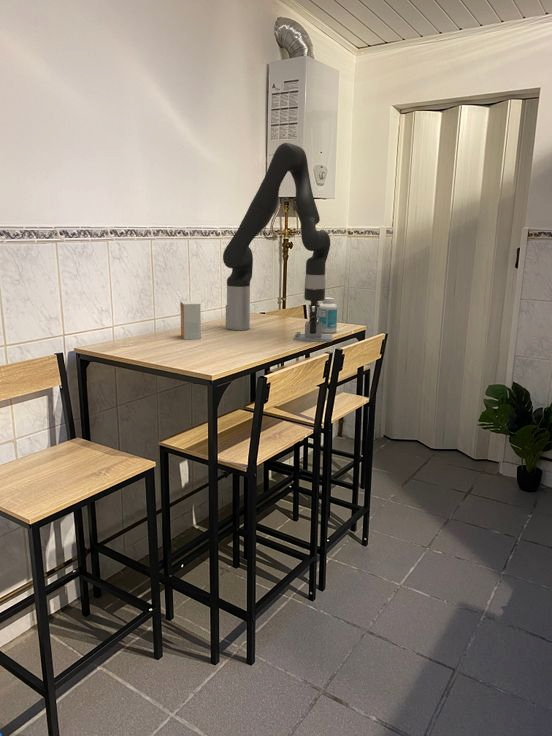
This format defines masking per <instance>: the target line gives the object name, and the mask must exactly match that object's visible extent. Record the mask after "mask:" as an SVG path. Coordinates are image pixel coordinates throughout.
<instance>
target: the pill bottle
mask: <svg viewBox="0 0 552 736" xmlns="http://www.w3.org/2000/svg"><path fill="white" fill-rule="evenodd" d="M321 302H322V303H320V304H319V305H320V309H319V315H318V319H317V322H322V333H323V334H334V333H336V332H337V329H338V327H337V326H338V325H337V324H338V306H337V303H334V302H335V298H334V297H326V296H325V299H324V300H323V301H321Z"/></svg>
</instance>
